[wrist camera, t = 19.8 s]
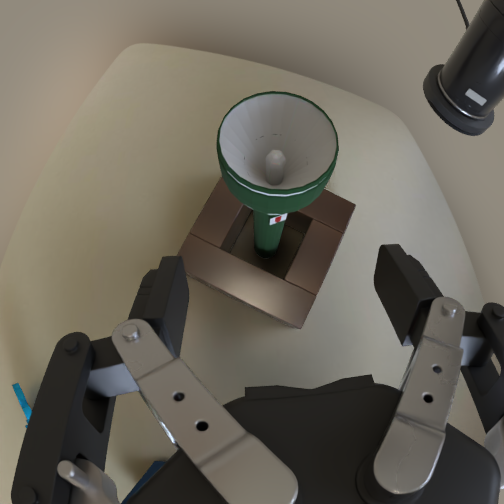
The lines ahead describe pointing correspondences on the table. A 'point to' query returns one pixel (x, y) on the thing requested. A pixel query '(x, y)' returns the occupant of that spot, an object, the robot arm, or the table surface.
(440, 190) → the table surface
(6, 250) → the table surface
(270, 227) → the flashlight
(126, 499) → the radio
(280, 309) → the holder
